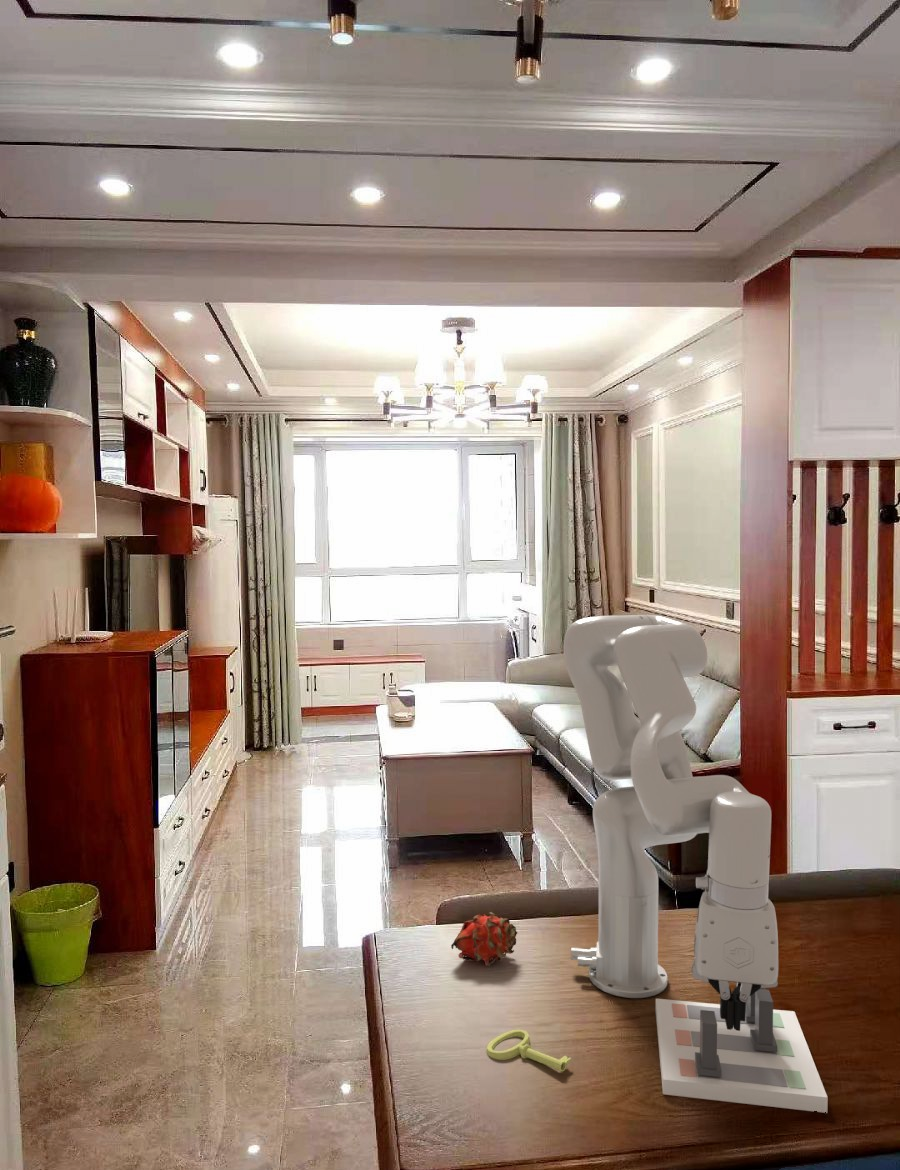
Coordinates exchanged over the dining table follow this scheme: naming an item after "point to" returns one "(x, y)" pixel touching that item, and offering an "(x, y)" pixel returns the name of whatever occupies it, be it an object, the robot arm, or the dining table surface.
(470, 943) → the dragon fruit
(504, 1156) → the dining table surface
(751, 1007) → the far switch
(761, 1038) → the middle switch
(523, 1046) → the key
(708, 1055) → the switch
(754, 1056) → the switch board
